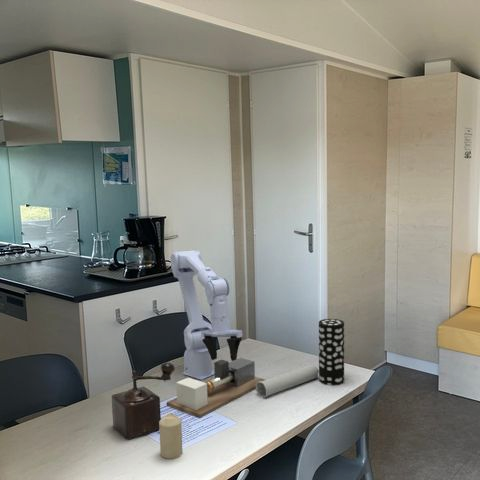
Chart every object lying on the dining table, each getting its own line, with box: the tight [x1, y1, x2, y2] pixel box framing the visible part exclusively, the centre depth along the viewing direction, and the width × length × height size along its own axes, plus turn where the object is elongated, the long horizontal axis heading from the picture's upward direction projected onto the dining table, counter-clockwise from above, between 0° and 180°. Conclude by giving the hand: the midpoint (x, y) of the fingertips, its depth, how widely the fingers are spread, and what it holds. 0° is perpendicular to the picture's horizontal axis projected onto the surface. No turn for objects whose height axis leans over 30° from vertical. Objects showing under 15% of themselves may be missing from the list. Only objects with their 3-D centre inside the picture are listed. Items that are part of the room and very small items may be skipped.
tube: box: [255, 364, 319, 399], centre depth 179 cm, size 5×5×25 cm
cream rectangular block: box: [175, 377, 208, 410], centre depth 165 cm, size 8×5×6 cm, turn 50°
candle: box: [158, 412, 183, 460], centre depth 139 cm, size 6×6×10 cm
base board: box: [166, 376, 266, 419], centre depth 175 cm, size 14×32×1 cm, turn 140°
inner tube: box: [204, 359, 235, 392], centre depth 177 cm, size 3×19×8 cm, turn 140°
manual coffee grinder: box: [111, 362, 176, 441], centre depth 154 cm, size 16×11×18 cm
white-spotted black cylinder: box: [318, 318, 345, 386], centre depth 182 cm, size 8×8×20 cm
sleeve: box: [226, 357, 256, 387], centre depth 182 cm, size 6×9×6 cm, turn 140°
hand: (224, 359), depth 175 cm, fingers open, 7 cm apart
